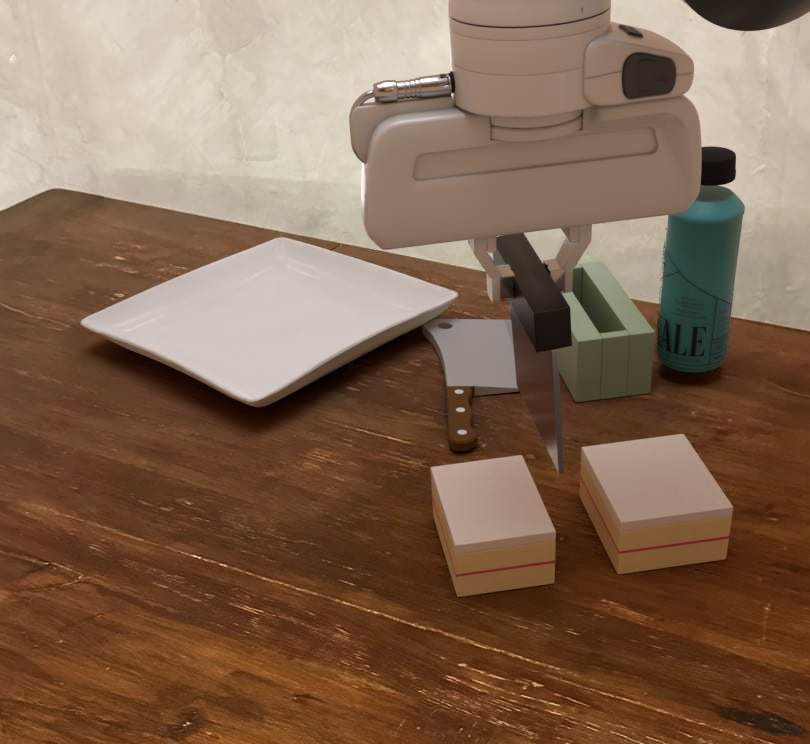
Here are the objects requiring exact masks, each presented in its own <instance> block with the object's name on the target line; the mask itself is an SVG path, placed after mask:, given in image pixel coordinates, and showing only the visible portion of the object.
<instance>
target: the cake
mask: <svg viewBox="0 0 810 744" xmlns="http://www.w3.org/2000/svg"><path fill="white" fill-rule="evenodd" d="M579 471H580V472H579V473H580V474H579V496H578V497H579V498H580V500H581V503H582V505H583V507H584V510H585V511H586V513H587V515H588V517H589V519H590V522H591V523H592V525H593V527H594V529H595V531H596V533H597V536H598V537H599V539H600V541H601V544H602V546H603V548H604V550H605V552H606V554H607V556H608V558H609V560H610V562H611V564H612V566H613V568H614V570H615V572H616V574H617V575H624V574H632V573H638V572H639V573H640V572H647V571H653V570H659V569H667V568H674V567H681V566H688V565H696V564H702V563H709V562H716V561H724V560H726V559H727V554H728V547H729V541H730V539H731V535H730V533H731V526H732V519H733V512H734V506H733V504H732V503H731V501H730V500H729V499H728V497H727V495H726V494H725V493H724V491H723V490H722V488H721V487H720V485H719V484H718V482H717V481H716V479H715V478H714V476H713V475H712V473H711V472H710V470H709V469H708V467H707V466H706V464H705V463H704V462H703V460H702V459H701V457H700V456H699V454H698V453H697V452H696V450H695V449H694V447H693V445H692V443H691V442H690V441H689V440H688V438H687V436H686V435H685V434H684V433H678V434H670V435H663V436H655V437H648V438H646V437H645V438H640V439H639V438H638V439H632V440H625V441H616V442H610V443H603V444H601V443H600V444H593V445H586V446H581V449H580V470H579Z"/></svg>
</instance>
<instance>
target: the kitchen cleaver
mask: <svg viewBox="0 0 810 744" xmlns="http://www.w3.org/2000/svg"><path fill="white" fill-rule="evenodd" d="M421 334H422V335H423V337H424V338H426V340H428V341H429V343H430V344H431V345H432V346H433V348H434V350H435V352H436V354H437V356H438V357H439V359H440V363H441V367H442V370H443V374H444V382H445V399H446V417H447V419H446V420H447V433H448V434H447V435H448V446H449V447H450V448H451V450H453V451H455V452H467V451H470V450H472V449H473V448H475V447H476V446H477V445H478V431H476V430H475V429H474V428H473V427H472V426H473V410H472V408H473V407H472V406H471V403H472V402H473V398H474V397H479V396H480V397H481V396H489V395H496V394H507V393H516V392H520V391H519V389H518V387H517V383H516V370H515V358H514V346H513V334H512V322H511V319H494V318H493V319H492V318H490V319H488V318H484V319H483V318H482V319H481V318H433V319H431V320H430V321H428V322H426V323H424V324H422V325H421Z"/></svg>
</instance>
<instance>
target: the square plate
mask: <svg viewBox="0 0 810 744" xmlns="http://www.w3.org/2000/svg"><path fill="white" fill-rule="evenodd" d="M458 297H459V293H458V292H457V291H455V290H452V289H450V288H447V287H444V286H440V285H437V284H435V283H432V282H429V281H425V280H423V279H420V278H417V277H414V276H411V275H408V274H406V273H403V272H400V271H397V270H394V269H391V268H388V267H384V266H382V265H378V264H375V263H372V262H369V261H365V260H362V259H359V258H356V257H353V256H351V255H346V254H344V253H340V252H336V251H333V250H330V249H326V248H324V247H320V246H317V245H314V244H310V243H306V242H303V241H300V240H295V239H292V238H288V237H282V236H281V237H275V238H273V239H271V240H270V239H269V240H268V241H265V242H263V243H261V244H257V245H256V246H253V247H250V248H247V249H245V250H242V251H239V252H237V253H234V254H231V255H229V256H226V257H224V258H221V259H219V260H216V261H214V262H211V263H208V264H206V265H202V266H200V267H198V268H196V269H193V270H191V271H189V272H188V271H187V272H185V273H184V274H181V275H179V276H176V277H173V278H171V279H169V280H166V281H164V282H162V283H159V284H157V285H155V286H153V287H150V288H148V289H146V290H144V291H141V292H140V293H137V294H134V295H133V296H130V297H128V298H126V299H124V300H121V301H119V302H117V303H114V304H112V305H110V306H107V307H106V308H103V309H102V310H98V311H96V312H95V313H92V314H90V315H88V316H86V317H84V318H83V319H81V321H80V325H81V326H82V327H84V328H85V329H87V330H89V331H92V332H94V333H96V334H98V335H99V336H101V337H103V338H105V339H107V340H108V341H110V342H112V343H114V344H116V345H118V346H120V347H123V348H125V349H126V350H129V351H132V352H134V353H137V354H139V355H142V356H144V357H147V358H148V359H152V360H153V361H157V362H159V363H161V364H163V365H166V366H168V367H170V368H172V369H174V370H177V371H178V372H180V373H183V374H185V375H187V376H189V377H190V378H192V379H195V380H197V381H198V382H201V383H203V384H205V385H206V386H208V387H210V388H212V389H214V390H215V391H218V392H219V393H222V394H224V395H225V396H227V397H229V398H231V399H232V400H233V399H234V400H235V401H238V402H241V403H243V404H245V405H248V406H251V407H255V408H263V407H268V406H269V405H271V404H274V403H276V402H278V401H279V400H282V399H283V398H286V397H287V396H289V395H291V394H293V393H295V392H297V391H299V390H301V389H303V388H305V387H306V386H308V385H310V384H312V383H314V382H316V381H317V380H319V379H322V378H323V377H325V376H327V375H328V374H331V373H333V372H334V371H336V370H338V369H340V368H342V367H343V366H345V365H347V364H349V363H351V362H354V361H356V360H357V359H359V358H361V357H362V356H364V355H366V354H368V353H370V352H372V351H374V350H376V349H379V348H380V347H383V346H385V345H386V344H388V343H390V342H391V341H393V340H394V339H396V338H399V337H400V336H402V335H405V334H407V333H409V332H411V331H413V330H414V329H416V328H418V327H420V326H422V324H424V323H426V322H428V321H430V320H431V319H436V317H439V315H441V314H442V313H443V312H444V311H445V310H447V308H449V307H450V306H451V305H452V303H453V302H454V301H455V300H456V299H458Z"/></svg>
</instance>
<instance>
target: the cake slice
mask: <svg viewBox="0 0 810 744" xmlns="http://www.w3.org/2000/svg"><path fill="white" fill-rule="evenodd" d="M430 480H431V481H430V482H431V500H432V502H431V503H432V514H433V516H432V517H433V521H434V523H435V526H436V531H437V533H438V537H439V540H440V544H441V547H442V550H443V554H444V557H445V561H446V564H447V568H448V571H449V575H450V578H451V581H452V584H453V588H454V591H455V595H456V597H457V598H462V597H469V596H476V595H483V594H484V595H485V594H490V593H497V592H504V591H511V590H518V589H526V588H532V587H539V586H544V585H553V584H555V583H556V582H555V581H556V580H555V579H556V574H555V573H556V563H557V562H556V561H557V560H556V542H557V541H556V539H557V532H556V531H557V530H556V529H555V527H554V524H553V522H552V519H551V517H550V515H549V512H548V511H547V508H546V506H545V504H544V502H543V499H542V496H541V494H540V492H539V490H538V487H537V485H536V483H535V481H534V479H533V477H532V475H531V472H530V470H529V467H528V464H527V463H526V461H525V458H524V456H523V454H517V455H510V456H504V457H503V456H502V457H495V458H489V459H481V460H473V461H466V462H457V463H450V464H443V465H435V466H430Z"/></svg>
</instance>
